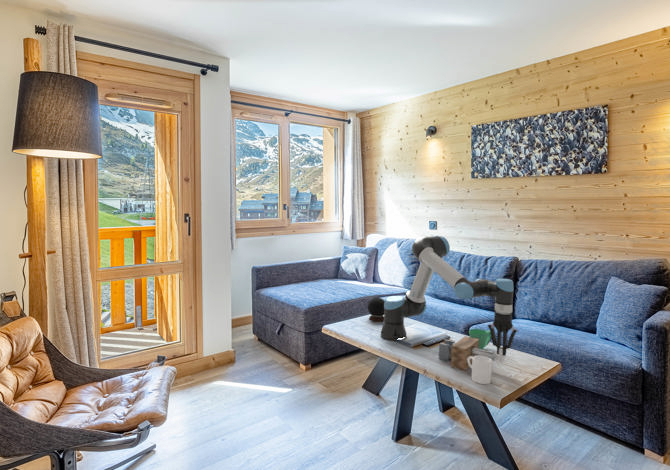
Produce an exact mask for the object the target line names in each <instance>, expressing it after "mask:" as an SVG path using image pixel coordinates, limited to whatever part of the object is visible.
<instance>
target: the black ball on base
mask: <svg viewBox="0 0 670 470" xmlns="http://www.w3.org/2000/svg"><path fill="white" fill-rule="evenodd" d="M384 303H385V299H383V298H381V297H374V298H372V299H370V300H369V302H368V304H367V311H368V313H369V314H370V316H369V317H368V319H369V321H371V322H373V323H374V322H375V323H382V322H383V323H384Z"/></svg>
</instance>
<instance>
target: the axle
mask: <svg viewBox="0 0 670 470" xmlns="http://www.w3.org/2000/svg"><path fill="white" fill-rule="evenodd" d="M455 343H456V342H455ZM455 343H452V345H454V344H455ZM451 349H452V346H451ZM471 355H474V356H486V357H488V358H490V359H491V360H492V361H494V360H495V355H496V354H495V352H494V351H490V350H485V349H483V350H482V349H477V348H473V347H471Z"/></svg>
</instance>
